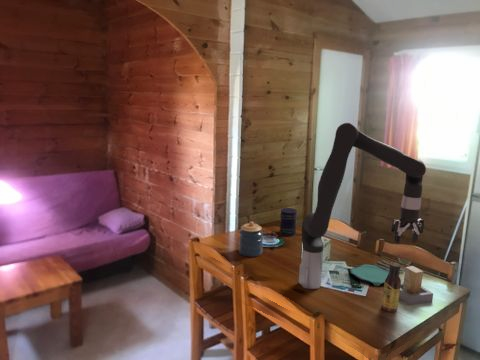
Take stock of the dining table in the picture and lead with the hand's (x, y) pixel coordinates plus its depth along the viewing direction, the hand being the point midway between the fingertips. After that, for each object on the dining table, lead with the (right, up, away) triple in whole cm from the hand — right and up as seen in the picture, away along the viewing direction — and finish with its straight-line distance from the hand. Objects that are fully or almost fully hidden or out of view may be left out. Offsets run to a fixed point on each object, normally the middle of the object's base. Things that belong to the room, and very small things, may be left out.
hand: (405, 242), depth 181 cm
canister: (-66, -13, +48) cm, 82 cm away
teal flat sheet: (-3, -20, +25) cm, 32 cm away
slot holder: (+3, -24, +3) cm, 24 cm away
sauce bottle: (-10, -26, -8) cm, 29 cm away
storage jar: (-42, -6, +79) cm, 90 cm away
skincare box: (+3, -23, +3) cm, 24 cm away
